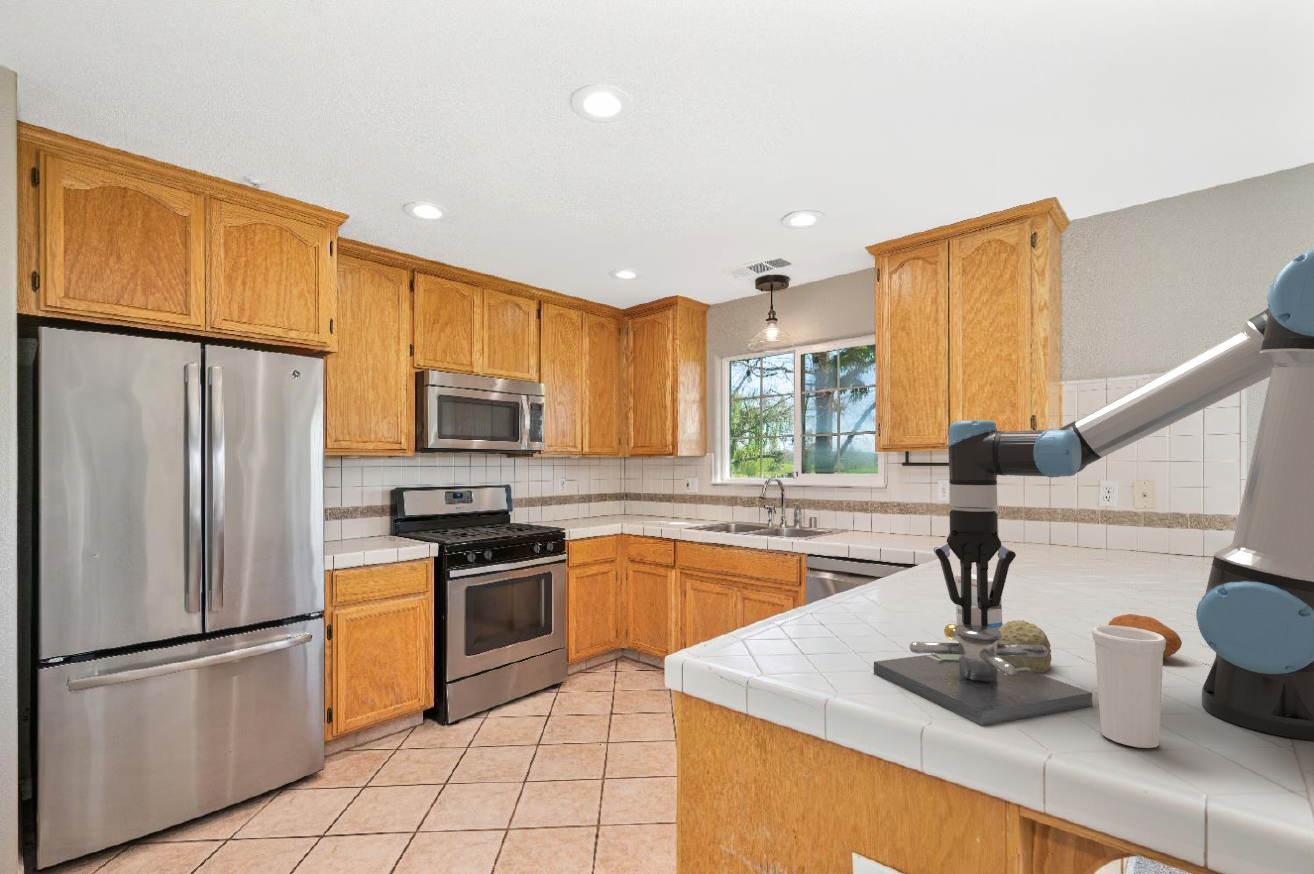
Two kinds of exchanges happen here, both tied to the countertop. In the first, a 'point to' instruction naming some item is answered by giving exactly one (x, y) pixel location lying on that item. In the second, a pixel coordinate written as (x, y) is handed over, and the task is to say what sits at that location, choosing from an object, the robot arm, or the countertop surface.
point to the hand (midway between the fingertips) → (975, 645)
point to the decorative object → (1025, 636)
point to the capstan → (978, 651)
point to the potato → (1151, 625)
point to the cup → (1129, 683)
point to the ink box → (993, 612)
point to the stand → (982, 689)
